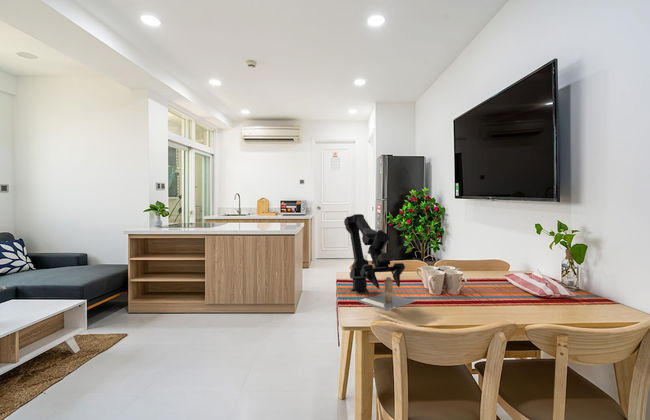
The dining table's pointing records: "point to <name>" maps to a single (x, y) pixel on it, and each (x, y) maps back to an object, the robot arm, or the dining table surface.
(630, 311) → the dining table surface
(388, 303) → the tan cylinder
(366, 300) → the subfloor board
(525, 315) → the dining table surface
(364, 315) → the dining table surface
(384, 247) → the robot arm
